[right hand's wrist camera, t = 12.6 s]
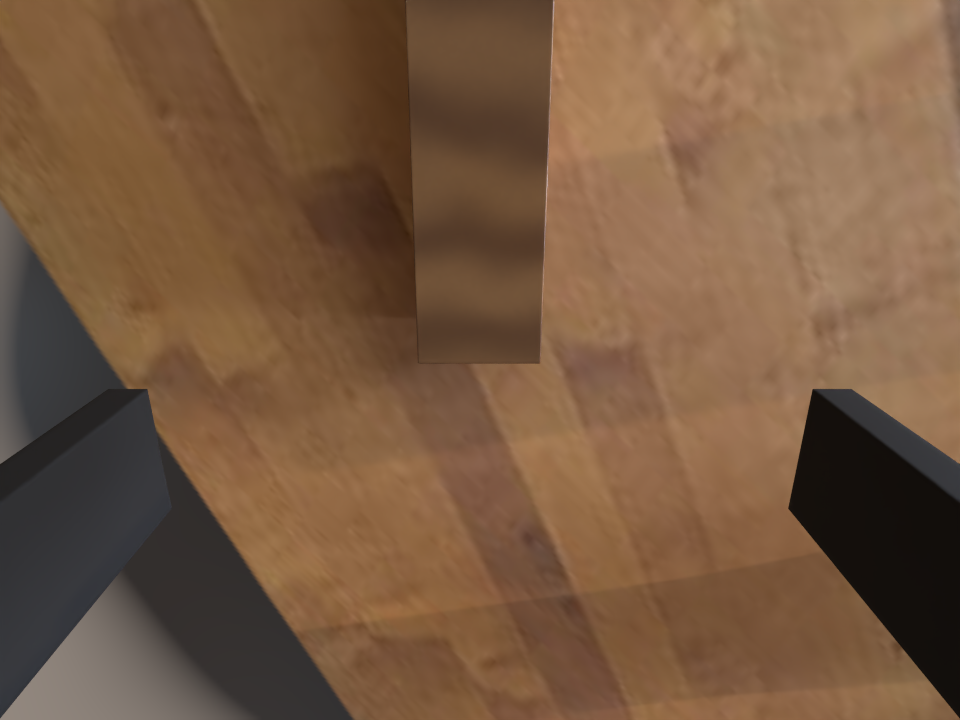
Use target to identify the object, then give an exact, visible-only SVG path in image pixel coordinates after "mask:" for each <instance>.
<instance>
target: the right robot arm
mask: <svg viewBox="0 0 960 720" xmlns="http://www.w3.org/2000/svg"><path fill="white" fill-rule="evenodd" d="M788 509H789V510H790V511H791V512H792V514H793V515H794V516H795V517H796V518H797V520H798V521H799V522H800V523H801V525H802V526H803V527H804V528H805V529H806V531H807V532H808V533H809V534H810V536H811V537H812V538H813V539H814V540H815V542H816V543H817V544H818V545H819V547H820V548H821V549H822V550H823V551H824V553H825V554H826V555H827V556H828V558H829V559H830V560H831V561H832V562H833V564H834V565H835V566H836V567H837V569H838V570H839V571H840V572H841V573H842V575H843V576H844V577H845V578H846V580H847V581H848V582H849V583H850V584H851V586H852V587H853V588H854V589H855V591H856V592H857V593H858V594H859V596H860V597H861V598H862V599H863V600H864V602H865V603H866V604H867V605H868V607H869V608H870V609H871V610H872V611H873V613H874V614H875V615H876V616H877V618H878V619H879V620H880V621H881V622H882V624H883V625H884V626H885V627H886V629H887V630H888V631H889V632H890V633H891V635H892V636H893V637H894V638H895V640H896V641H897V642H898V643H899V644H900V646H901V647H902V648H903V649H904V651H905V652H906V653H907V654H908V655H909V657H910V658H911V659H912V660H913V662H914V663H915V664H916V665H917V666H918V668H919V669H920V670H921V671H922V673H923V674H924V675H925V676H926V677H927V679H928V680H929V681H930V682H931V684H932V685H933V686H934V687H935V688H936V690H937V691H938V692H939V693H940V695H941V696H942V697H943V698H944V699H945V701H946V702H947V703H948V704H949V706H950V707H951V708H952V709H953V710H954V712H955V713H956V714H957V715H958V717H959V718H960V464H959V463H957V462H956V461H954V460H953V459H951V458H950V457H949V456H947V455H946V454H944V453H943V452H941V451H940V450H938V449H937V448H936V447H934V446H933V445H931V444H930V443H928V442H927V441H926V440H924V439H923V438H921V437H920V436H918V435H917V434H915V433H914V432H913V431H911V430H910V429H908V428H907V427H905V426H904V425H902V424H901V423H900V422H898V421H897V420H895V419H894V418H892V417H891V416H889V415H888V414H887V413H885V412H884V411H882V410H881V409H879V408H878V407H877V406H875V405H874V404H872V403H871V402H869V401H868V400H866V399H865V398H864V397H862V396H861V395H859V394H858V393H856V392H855V391H853V390H852V389H813V390H812V395H811V400H810V405H809V410H808V415H807V420H806V425H805V429H804V434H803V439H802V444H801V449H800V454H799V459H798V464H797V469H796V474H795V478H794V483H793V488H792V493H791V498H790V503H789V508H788ZM170 510H171V503H170V498H169V493H168V488H167V483H166V478H165V474H164V469H163V464H162V459H161V454H160V449H159V444H158V439H157V434H156V429H155V425H154V420H153V415H152V410H151V405H150V400H149V395H148V390H147V389H108V390H107V391H105V392H104V393H102V394H101V395H99V396H98V397H96V398H95V399H94V400H92V401H91V402H89V403H88V404H86V405H85V406H83V407H82V408H81V409H79V410H78V411H76V412H75V413H73V414H72V415H71V416H69V417H68V418H66V419H65V420H63V421H62V422H60V423H59V424H58V425H56V426H55V427H53V428H52V429H50V430H49V431H47V432H46V433H45V434H43V435H42V436H40V437H39V438H37V439H36V440H35V441H33V442H32V443H30V444H29V445H27V446H26V447H24V448H23V449H22V450H20V451H19V452H17V453H16V454H14V455H13V456H11V457H10V458H9V459H7V460H6V461H4V462H3V463H1V464H0V718H1V717H2V715H3V714H4V713H5V712H6V710H7V709H8V708H9V707H10V706H11V704H12V703H13V702H14V701H15V699H16V698H17V697H18V696H19V695H20V693H21V692H22V691H23V690H24V688H25V687H26V686H27V685H28V684H29V682H30V681H31V680H32V679H33V677H34V676H35V675H36V674H37V673H38V671H39V670H40V669H41V668H42V666H43V665H44V664H45V663H46V661H47V660H48V659H49V658H50V657H51V655H52V654H53V653H54V652H55V651H56V649H57V648H58V647H59V646H60V644H61V643H62V642H63V641H64V639H65V638H66V637H67V636H68V635H69V633H70V632H71V631H72V630H73V628H74V627H75V626H76V625H77V624H78V622H79V621H80V620H81V619H82V618H83V616H84V615H85V614H86V613H87V611H88V610H89V609H90V608H91V607H92V605H93V604H94V603H95V602H96V600H97V599H98V598H99V597H100V595H101V594H102V593H103V592H104V591H105V589H106V588H107V587H108V586H109V584H110V583H111V582H112V581H113V580H114V578H115V577H116V576H117V575H118V573H119V572H120V571H121V570H122V568H123V567H124V566H125V565H126V564H127V562H128V561H129V560H130V559H131V558H132V556H133V555H134V554H135V553H136V551H137V550H138V549H139V548H140V547H141V545H142V544H143V543H144V542H145V540H146V539H147V538H148V537H149V536H150V534H151V533H152V532H153V531H154V529H155V528H156V527H157V526H158V524H159V523H160V522H161V521H162V520H163V518H164V517H165V516H166V515H167V514H168V512H169V511H170Z"/></svg>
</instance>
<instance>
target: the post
mask: <svg viewBox="0 0 960 720" xmlns="http://www.w3.org/2000/svg"><path fill="white" fill-rule="evenodd" d="M405 8H406V36H407V64H408V92H409V120H410V148H411V176H412V205H413V233H414V261H415V289H416V317H417V345H418V363H540V360H541V334H542V308H543V283H544V257H545V231H546V205H547V179H548V153H549V127H550V101H551V75H552V49H553V23H554V0H405Z"/></svg>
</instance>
